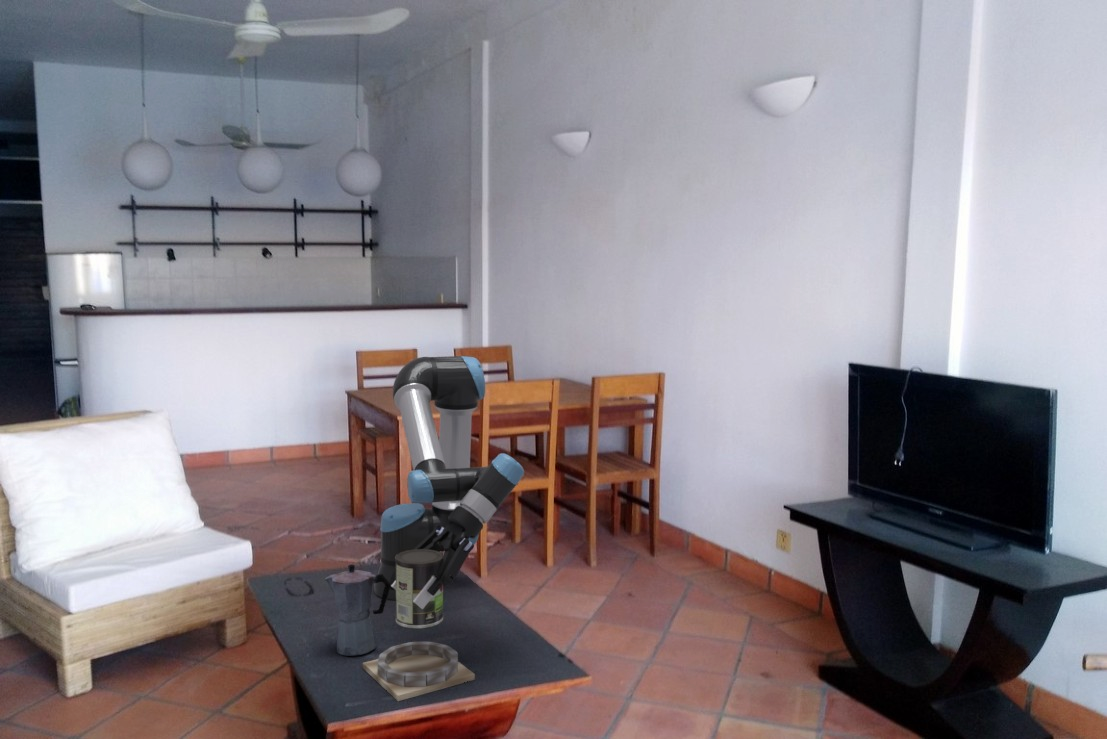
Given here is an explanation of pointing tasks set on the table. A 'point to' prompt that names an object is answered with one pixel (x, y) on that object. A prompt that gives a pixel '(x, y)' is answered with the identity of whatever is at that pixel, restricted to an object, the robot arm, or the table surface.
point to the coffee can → (417, 588)
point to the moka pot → (355, 609)
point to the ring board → (417, 669)
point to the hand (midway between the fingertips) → (406, 597)
